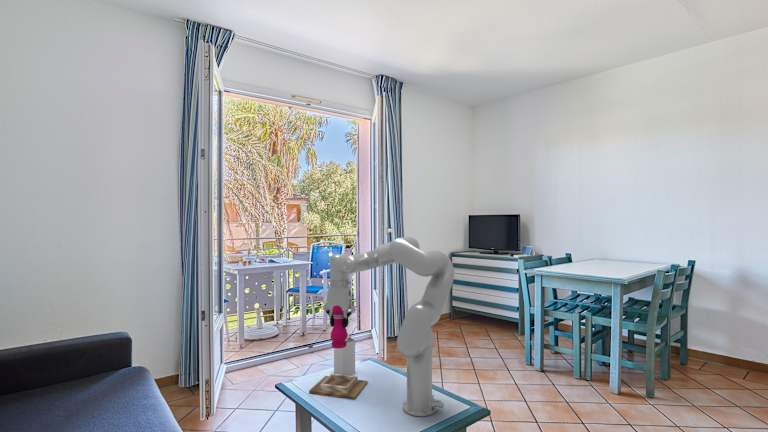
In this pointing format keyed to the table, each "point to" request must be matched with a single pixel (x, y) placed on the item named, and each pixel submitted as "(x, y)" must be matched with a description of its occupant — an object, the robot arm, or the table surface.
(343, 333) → the pepper mill
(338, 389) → the stand
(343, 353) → the milk carton
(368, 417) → the table surface
